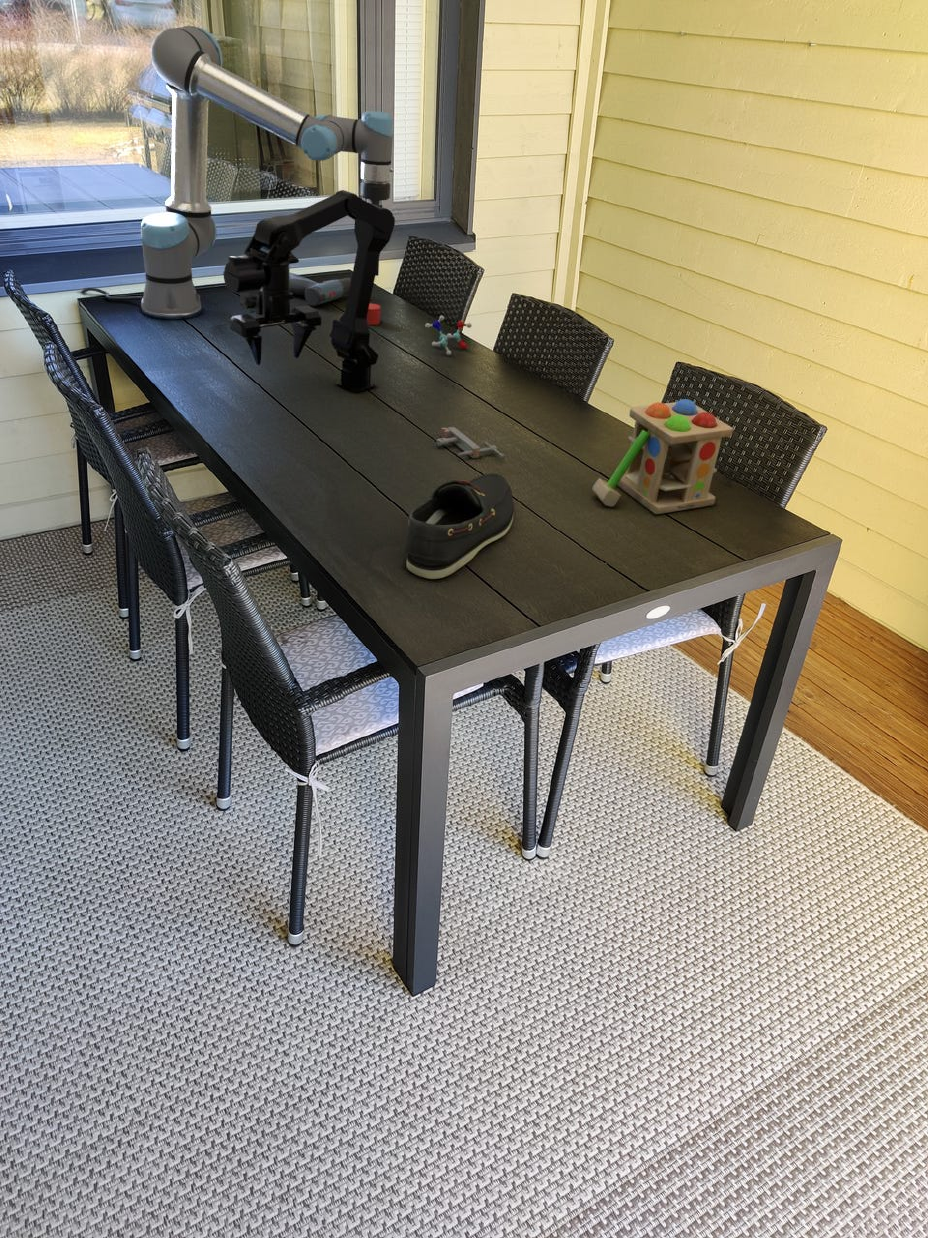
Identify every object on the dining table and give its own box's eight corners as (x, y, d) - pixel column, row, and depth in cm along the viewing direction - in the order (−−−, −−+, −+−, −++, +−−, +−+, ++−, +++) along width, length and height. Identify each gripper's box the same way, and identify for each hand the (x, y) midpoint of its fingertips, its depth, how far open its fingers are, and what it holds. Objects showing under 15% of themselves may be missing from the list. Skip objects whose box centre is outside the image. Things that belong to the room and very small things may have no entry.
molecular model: (465, 347, 244) (452, 307, 242) (431, 360, 247) (418, 321, 246) (479, 347, 254) (467, 309, 253) (447, 360, 258) (434, 323, 256)
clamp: (428, 429, 204) (470, 423, 208) (427, 439, 205) (469, 432, 209) (464, 459, 193) (507, 451, 198) (463, 469, 194) (506, 461, 199)
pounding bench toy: (617, 521, 181) (635, 431, 171) (577, 488, 192) (591, 401, 182) (715, 504, 191) (737, 418, 181) (672, 473, 201) (691, 389, 191)
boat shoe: (539, 516, 182) (544, 464, 176) (440, 585, 158) (443, 528, 152) (480, 497, 187) (483, 446, 182) (376, 561, 163) (376, 505, 158)
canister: (377, 318, 268) (377, 302, 266) (382, 324, 264) (382, 308, 262) (359, 319, 267) (359, 303, 264) (363, 325, 263) (364, 309, 260)
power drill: (307, 279, 292) (360, 295, 284) (264, 292, 279) (319, 308, 271) (307, 261, 289) (361, 276, 281) (263, 272, 276) (319, 289, 268)
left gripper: (391, 192, 236) (388, 282, 248) (389, 172, 256) (386, 256, 268) (360, 190, 235) (358, 280, 247) (360, 170, 255) (358, 254, 267)
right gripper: (294, 271, 210) (295, 342, 219) (214, 280, 199) (219, 355, 208) (322, 285, 203) (322, 358, 212) (241, 296, 193) (245, 372, 201)
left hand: (372, 267), depth 258 cm, fingers open, 13 cm apart
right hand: (277, 360), depth 208 cm, fingers open, 9 cm apart
